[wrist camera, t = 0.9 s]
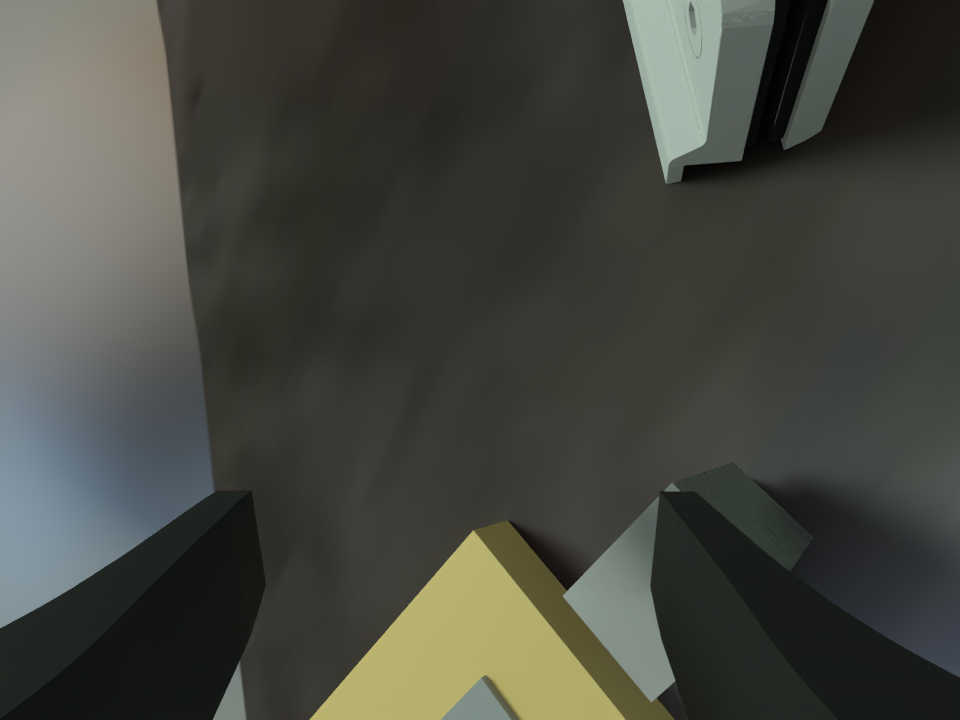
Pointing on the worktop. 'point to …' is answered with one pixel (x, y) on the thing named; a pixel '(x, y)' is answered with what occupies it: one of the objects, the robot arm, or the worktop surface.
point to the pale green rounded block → (739, 71)
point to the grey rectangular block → (628, 565)
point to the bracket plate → (490, 649)
